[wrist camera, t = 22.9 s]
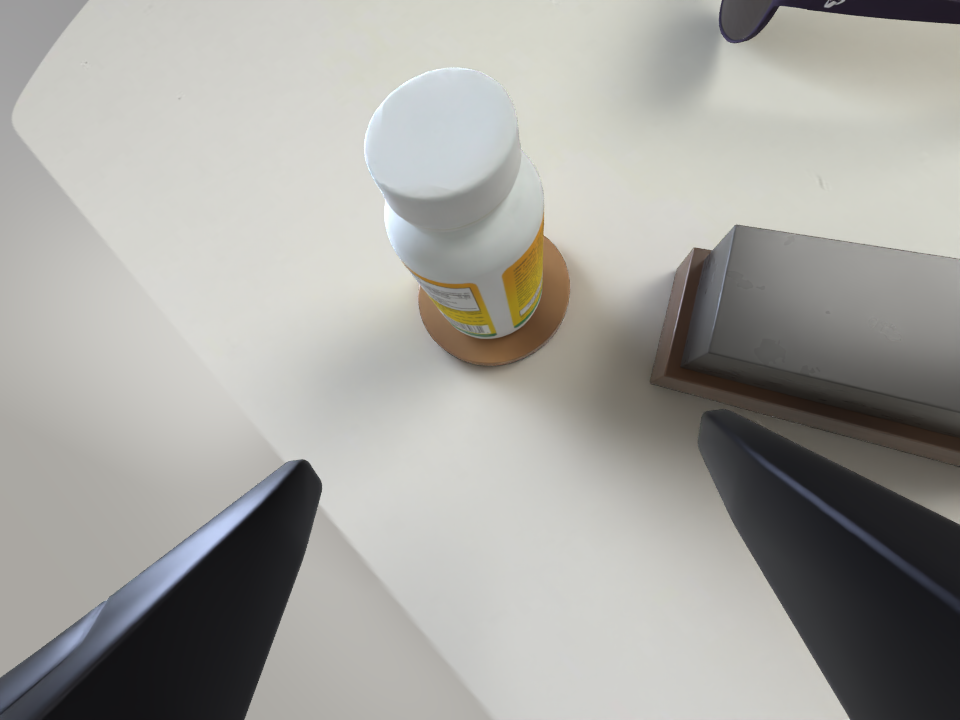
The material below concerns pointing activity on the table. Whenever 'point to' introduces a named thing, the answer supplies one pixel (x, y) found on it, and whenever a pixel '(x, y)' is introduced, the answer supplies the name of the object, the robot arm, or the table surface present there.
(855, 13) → the sunglasses
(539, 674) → the table surface
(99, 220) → the table surface
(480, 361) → the cork coaster
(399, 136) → the supplement bottle
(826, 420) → the sharpening stone
